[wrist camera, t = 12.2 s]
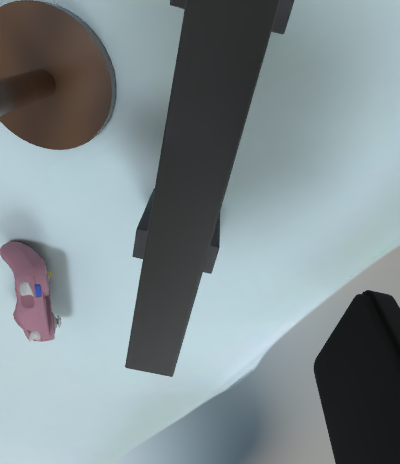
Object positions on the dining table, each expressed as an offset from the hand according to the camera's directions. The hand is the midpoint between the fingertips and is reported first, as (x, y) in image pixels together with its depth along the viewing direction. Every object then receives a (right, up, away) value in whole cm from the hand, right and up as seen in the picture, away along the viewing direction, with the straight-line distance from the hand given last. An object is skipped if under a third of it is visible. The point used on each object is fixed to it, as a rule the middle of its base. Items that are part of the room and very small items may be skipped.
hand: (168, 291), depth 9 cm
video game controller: (-16, -3, +28) cm, 32 cm away
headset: (+1, +10, +18) cm, 21 cm away
